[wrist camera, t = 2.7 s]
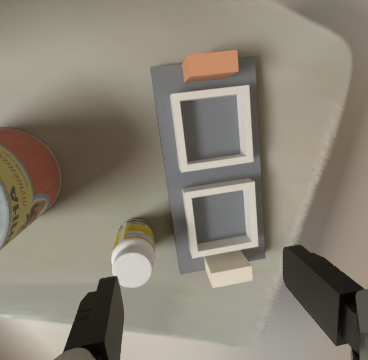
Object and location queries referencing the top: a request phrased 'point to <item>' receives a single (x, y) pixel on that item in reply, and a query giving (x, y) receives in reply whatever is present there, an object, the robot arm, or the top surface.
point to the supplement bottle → (133, 253)
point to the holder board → (212, 163)
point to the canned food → (25, 181)
